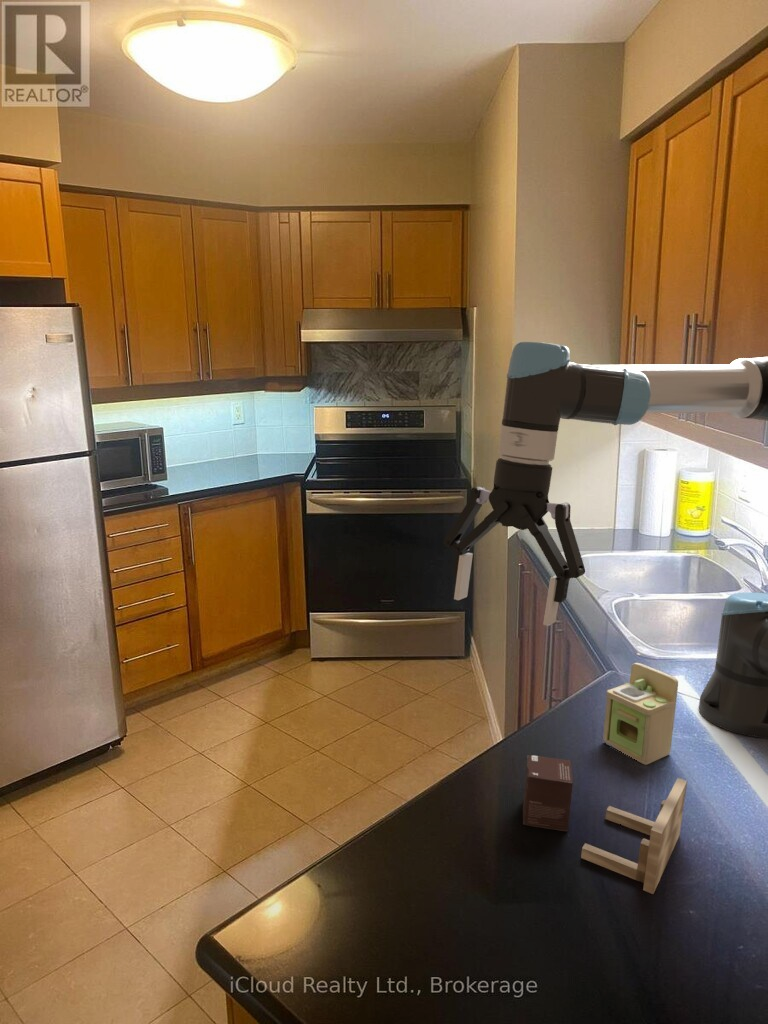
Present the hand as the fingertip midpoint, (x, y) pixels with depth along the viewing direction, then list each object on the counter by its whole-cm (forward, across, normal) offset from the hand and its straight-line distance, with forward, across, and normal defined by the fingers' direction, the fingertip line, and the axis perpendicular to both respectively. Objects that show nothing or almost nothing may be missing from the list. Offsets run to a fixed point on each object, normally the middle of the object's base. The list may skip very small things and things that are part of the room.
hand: (503, 610), depth 104 cm
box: (+27, +11, -1) cm, 29 cm away
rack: (+26, +22, -1) cm, 34 cm away
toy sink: (+25, +16, +26) cm, 39 cm away
